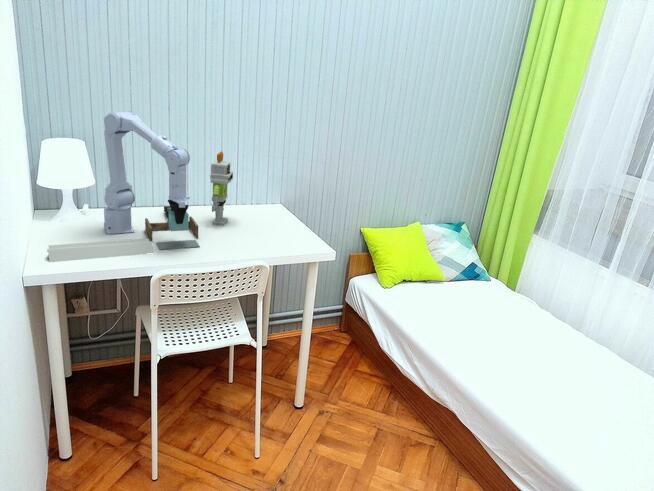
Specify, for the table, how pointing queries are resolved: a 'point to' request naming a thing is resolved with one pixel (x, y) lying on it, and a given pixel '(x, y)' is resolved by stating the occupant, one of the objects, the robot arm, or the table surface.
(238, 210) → the table surface
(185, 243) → the mat
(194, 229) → the frame
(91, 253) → the crown molding
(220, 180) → the toy
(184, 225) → the block
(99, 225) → the table surface
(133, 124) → the robot arm
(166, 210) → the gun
